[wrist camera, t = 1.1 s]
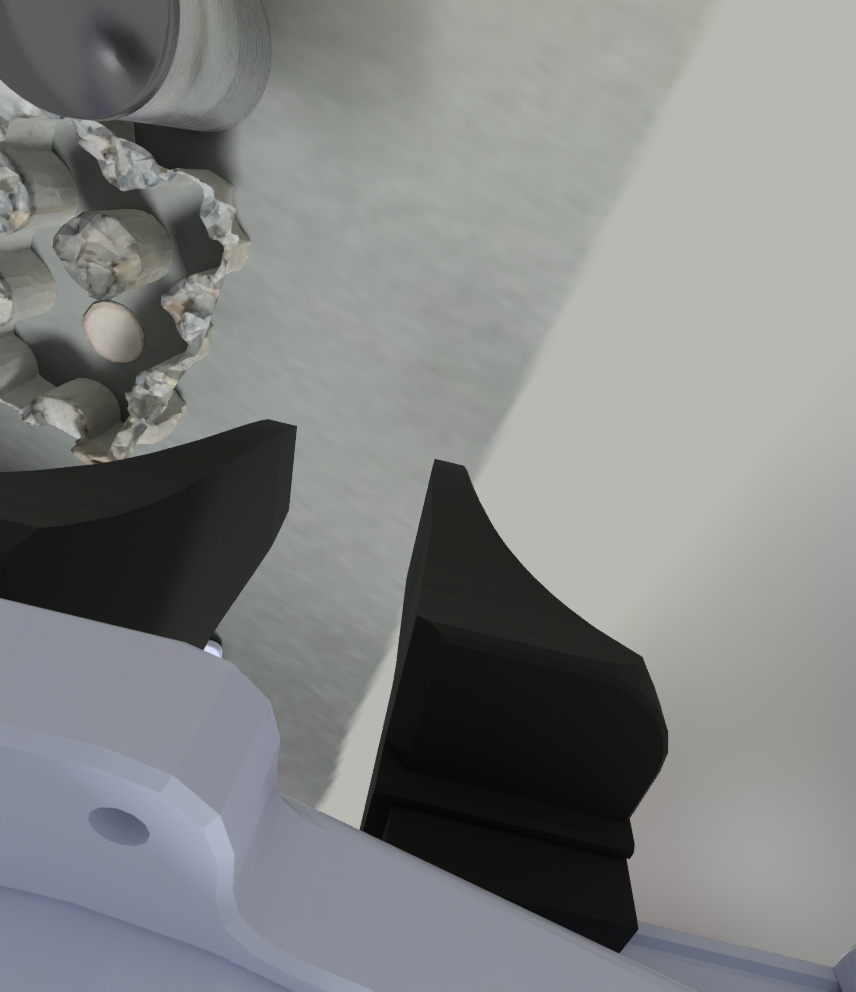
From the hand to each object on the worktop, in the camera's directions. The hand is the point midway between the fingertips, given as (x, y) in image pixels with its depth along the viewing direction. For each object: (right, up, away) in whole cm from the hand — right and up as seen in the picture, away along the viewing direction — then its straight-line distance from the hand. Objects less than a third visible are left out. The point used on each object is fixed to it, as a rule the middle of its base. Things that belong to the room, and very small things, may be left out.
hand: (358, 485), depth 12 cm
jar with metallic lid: (-5, +13, +5) cm, 14 cm away
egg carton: (-9, +7, +9) cm, 15 cm away
